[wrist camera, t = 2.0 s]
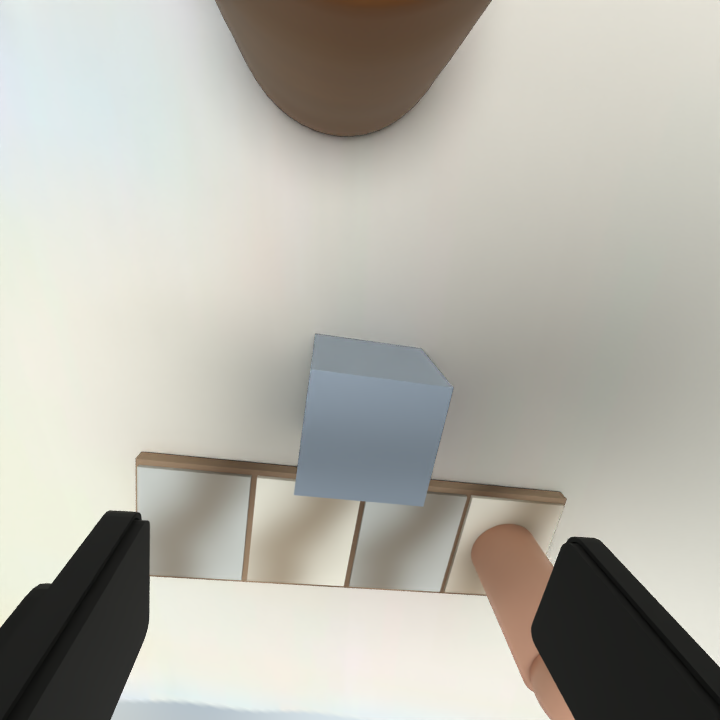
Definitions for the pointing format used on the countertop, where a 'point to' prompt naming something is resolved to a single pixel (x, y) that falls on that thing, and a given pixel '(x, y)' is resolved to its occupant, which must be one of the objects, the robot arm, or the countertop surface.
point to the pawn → (519, 603)
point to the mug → (348, 55)
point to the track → (322, 528)
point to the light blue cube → (371, 422)
